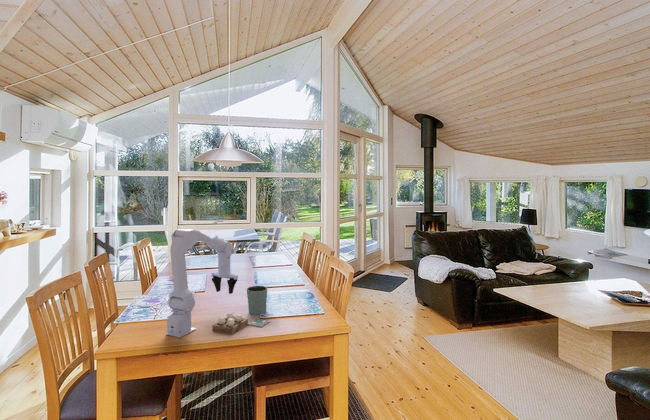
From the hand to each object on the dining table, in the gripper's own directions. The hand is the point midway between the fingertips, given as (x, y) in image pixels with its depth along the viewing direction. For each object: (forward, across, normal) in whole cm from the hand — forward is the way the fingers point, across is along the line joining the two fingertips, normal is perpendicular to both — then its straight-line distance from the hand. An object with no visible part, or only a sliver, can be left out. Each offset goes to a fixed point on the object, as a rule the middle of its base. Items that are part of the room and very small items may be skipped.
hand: (224, 292), depth 177 cm
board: (+10, -15, +15) cm, 23 cm away
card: (+10, -24, +6) cm, 26 cm away
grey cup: (+10, -15, -6) cm, 19 cm away
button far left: (+8, -12, +12) cm, 19 cm away
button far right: (+8, -17, +12) cm, 22 cm away
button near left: (+8, -12, +18) cm, 23 cm away
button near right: (+8, -17, +18) cm, 26 cm away
